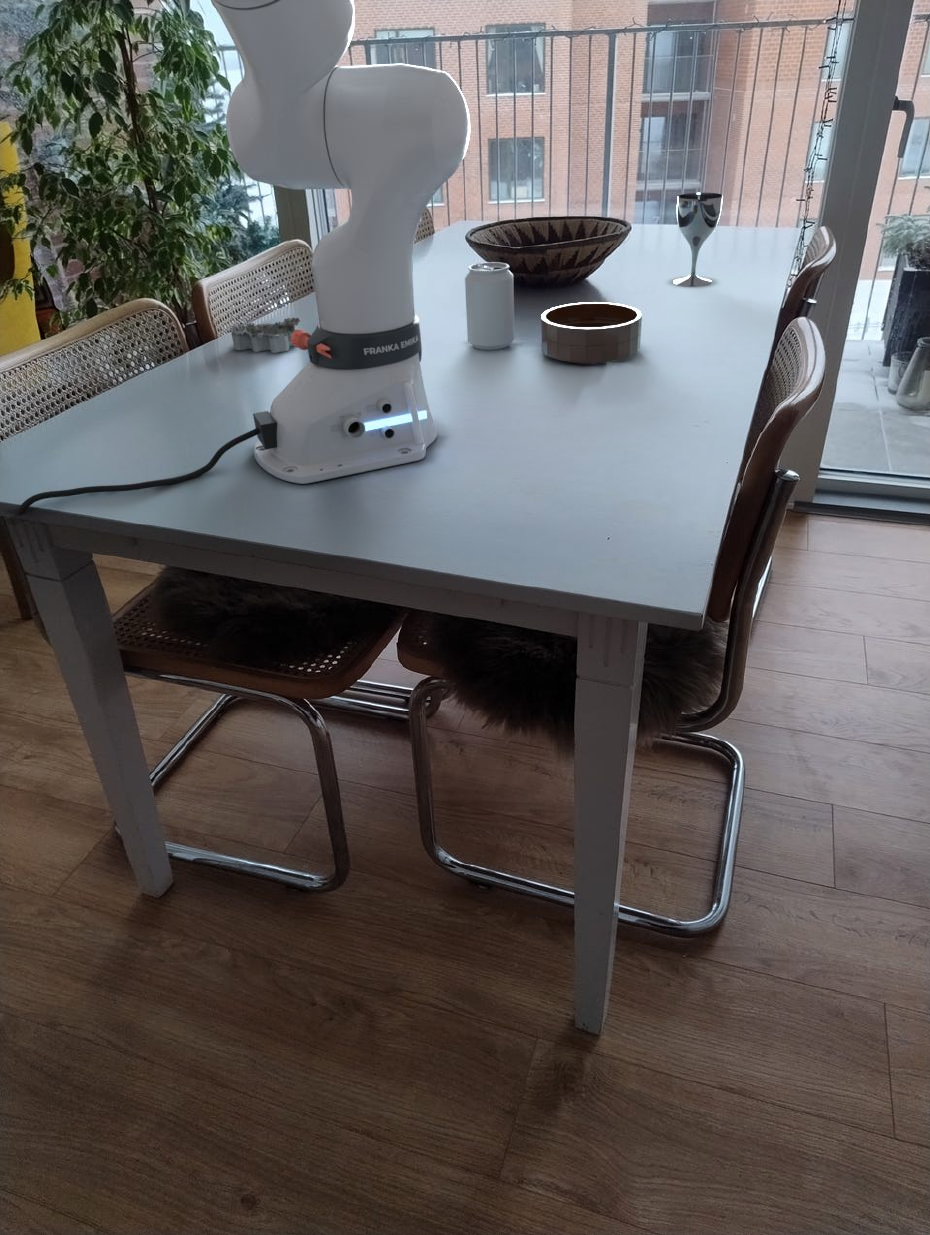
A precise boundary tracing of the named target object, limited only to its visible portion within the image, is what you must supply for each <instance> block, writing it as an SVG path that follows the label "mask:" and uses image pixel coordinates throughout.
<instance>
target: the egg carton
mask: <svg viewBox="0 0 930 1235" xmlns="http://www.w3.org/2000/svg"><path fill="white" fill-rule="evenodd" d="M300 322H301V320H300V318H299V317H287V318H284V319H283V321H282V322H281V321H278V320H277V321H275V323H270V322H267V323H259V324H256V325H255V323H254V322H248V321H247V322H246V324H245V323H244V322H241V324H237V325H232V327H226V329H227V330H228V331H230V332H231V337H232V342H233V347H235V350H236V351H243V350H248V349H251V350H252V351H253V352H255V353H259V352H263V351H270V352H271V354H278V353H281V352H282V353H283V352H288V351H289V350H290V347H293V346H294V345H293V344H292V341H291V339H293V338H291V335H294V334H293V332H294V331H295V330H298V328H297V326H298V325H299V323H300Z"/></svg>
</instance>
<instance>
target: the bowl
mask: <svg viewBox="0 0 930 1235" xmlns="http://www.w3.org/2000/svg"><path fill="white" fill-rule="evenodd" d="M540 316H541V317H540V323H541V324H540V326H541V327H540V328H541V331H540V332H541V334H540V340H541V341H540V342H541V343H540V348H541V353H543V354H544V355H545V356H546V357H549V358H551V359H553V360H558V361H562V362H567V363H573V364H583V365H585V364H586V365H587V364H588V365H589V364H590V365H591V364H594V365H595V364H604V363H610V362H615V361H620V360H623V359H626V358H630V357H632V356H634V355H636V354H638V352H639V350H640V349H641V338H642V321H643V315H642V313H641V310H639V309H637V308H636V307H633V306H628V305H625V304H621V303H612V302H597V301H594V302H577V303H568V304H563V305H559V306H555V307H551V308H550V309H547V310H545V311H544V312H543V313H542V314H541V315H540Z"/></svg>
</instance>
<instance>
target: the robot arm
mask: <svg viewBox="0 0 930 1235" xmlns="http://www.w3.org/2000/svg"><path fill="white" fill-rule="evenodd" d="M211 3H212V4H213V6H214V9H215V10H216V11H217V13H218V15H219V17H220V19H221V21H222V22H223V24H224V26H225V28H226V30H227V32H228V35H229V36H230V39H231V40H232V42H233V44H234V46H235V48H236V50H237V52H238V54H239V57H240V59H241V62H242V66H243V71H244V72H243V78H242V79H241V80H240V82H239V83H238V84H237V85H236V86H235V88H234V89H233V91H232V94H231V95H230V99H229V101H228V104H227V108H226V115H225V130H226V137H227V141H228V146H229V148H230V150H231V153H232V155H233V157H234V159H235V161H236V162H237V164H238V166H239V167H240V168H241V170H242V171H243V172H244V173H245V175H246V176H247V177H248V178H250V179H251V180H253V181H255V182H258V183H262V184H267V185H272V186H275V187H280V188H285V189H290V190H350V194H351V207H350V213H349V217H348V220H346V221H344V222H342V223H341V224H339V225H338V226H335V228H333V229H331V230H330V231H329V232H327V233H326V234H325V235H323V237H322V238H321V239H320V240H319V241H318V243H317V244H316V245H315V248H314V249H313V253H312V258H311V262H310V266H311V267H310V268H311V274H312V279H313V280H312V281H313V287H314V288H313V289H314V295H315V301H316V309H317V310H316V311H317V315H318V316H317V317H318V321H319V322H318V323H317V325H316V327H315V329H314V331H313V332H312V333H311V334H310V333H309V332H306V331H305V330H302V329H301V328H300V329H298V328H297V330H295V331H294V332H293V334H294V335H291V338H293V339H291V341H292V344H293V346H294V347H295V348H298V349H299V350H301V351H307V353H308V359H309V360H308V362H307V363H306V364H305V365H304V366H303V367H302V369H300V370H299V372H298V373H297V374H296V375H295V376H294V377H293V378H292V380H291V381H290V382H289V383H288V384H287V385H286V386H285V387H284V388H283V389H282V391H280V392H279V393H278V395H277V396H276V397H275V398H273V400H272V402H271V405H270V409H269V410H270V411H269V410H265V411H260V412H254V413H252V416H253V422H254V426H255V427H254V429H252V430H249V431H247V432H245V433H243V434H241V435H238V436H236V437H235V438H233V439H231V440H229V441H228V442H227V443H225V444H223V445H222V446H221V447H220V448H219V449H218V450H217V451H216V452H215V453H214V455H213V456H212V458H211V459H210V461H209V462H208V463H207V464H205V465H203V466H201V467H200V468H198V469H196V470H194V471H192V472H190V473H187V474H183V475H180V476H175V477H169V478H163V479H156V480H149V481H141V482H137V483H136V482H135V483H129V484H128V483H127V484H113V485H110V484H109V485H93V486H82V487H75V488H70V489H61V490H49V491H44V492H39V493H36V494H33V495H31V496H30V497H28V498H26V499H25V500H24V501H23V502H22V503H21V504H20V506H19V507H18V508H17V509H16V511H15V515H22V514H24V513H25V512H26V511H27V509H28V508H29V507H30V506H32V505H33V504H35V503H36V502H39V501H42V500H46V499H52V498H53V499H54V498H65V497H72V496H77V495H86V494H94V493H96V494H97V493H115V492H116V493H117V492H131V491H139V490H145V489H149V488H157V487H165V486H171V485H177V484H180V483H183V482H186V481H190V480H194V479H196V478H199V477H200V476H203V475H204V474H205V473H208V472H209V471H211V470H212V469H213V468H214V467H215V466H216V465H217V464H218V462H219V461H220V459H221V457H222V456H223V455H225V453H226V452H228V451H229V450H231V449H232V448H233V447H235V446H237V445H239V444H241V443H243V442H245V441H248V440H249V439H252V438H254V437H255V436H256V437H257V439H258V440H257V441H256V442H255V444H254V446H253V454H254V459H255V461H256V463H257V464H258V466H259V467H261V468H262V469H263V470H264V471H266V472H267V473H268V474H270V475H272V476H274V477H275V478H278V479H280V480H283V481H285V482H289V483H293V484H301V485H304V484H305V485H306V484H312V483H316V482H317V483H318V482H322V481H326V480H332V479H336V478H341V477H345V476H350V475H355V474H360V473H365V472H370V471H374V470H378V469H384V468H389V467H394V466H399V465H402V464H408V463H412V462H417V461H420V460H423V459H424V458H425V457H426V454H427V448H428V447H429V446H430V445H431V444H432V443H433V442H434V441H435V440H436V439H437V437H438V428H437V426H436V423H435V421H434V417H433V415H432V412H431V408H430V405H429V401H428V397H427V392H426V388H425V384H424V379H423V374H422V373H423V372H422V367H421V362H422V354H423V351H422V350H423V348H422V334H421V326H420V318H419V317H418V315H416V309H415V298H414V294H415V292H414V247H415V240H416V236H417V231H418V228H419V224H420V222H421V219H422V216H423V214H424V212H425V210H426V208H427V206H428V205H429V203H430V202H431V200H432V198H433V197H434V196H435V195H436V194H437V192H438V190H439V189H440V188H441V187H442V186H443V185H444V184H445V183H446V182H448V181H449V180H450V179H451V178H452V177H453V175H454V174H455V173H456V172H457V170H458V169H459V167H460V166H461V165H462V162H463V160H464V158H465V156H466V153H467V151H468V146H469V142H470V135H471V121H470V113H469V108H468V105H467V102H466V99H465V97H464V95H463V92H462V91H461V89H460V87H459V85H458V84H457V82H456V81H455V80H454V79H453V77H452V76H451V75H450V74H449V73H447V72H446V71H443V70H438V69H434V68H430V67H426V66H419V65H413V64H407V63H385V64H384V63H383V64H365V65H364V64H363V65H348V66H347V65H345V66H344V65H338V64H339V62H340V61H341V59H342V57H343V56H344V55H345V53H346V52H347V50H348V49H349V48H348V47H349V46H350V43H351V40H352V37H353V34H354V31H355V30H354V29H355V19H356V18H355V17H356V16H355V3H354V0H211Z"/></svg>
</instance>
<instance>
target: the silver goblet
mask: <svg viewBox="0 0 930 1235" xmlns="http://www.w3.org/2000/svg"><path fill="white" fill-rule="evenodd" d="M723 196H724V195H723V194H721V193H717V192H689V193H683V194H679V195H678V196H677V202H676V203H677V204H676V220H677V226H678V229H679V231H680V233H681V235H682V236H683V238H684V239H685V241H686V243H688V246H689V248H690V251H691V271H690V274H689V275H688V276H686V277H681V278H677V279H674V280H673V284H675V285H676V286H681V287H691V288H692V287H693V288H695V287H704V286H705V287H706V286H709V285H711V284H712V280H710V279H708V278H704V277H700V276H698V275H696V274H697V273H696V270H697V269H696V268H697V262H698V257H699V253H700V249H701V248H702V246H703V245H704V243H705V242H706V241H707V240H708V238H710V236H711V235H712V234H713V233H714V232H715V231H716V228H717V226H718V223H719V220H720V218H721V217H720V216H721V212H722V206H723V198H724V197H723Z"/></svg>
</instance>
